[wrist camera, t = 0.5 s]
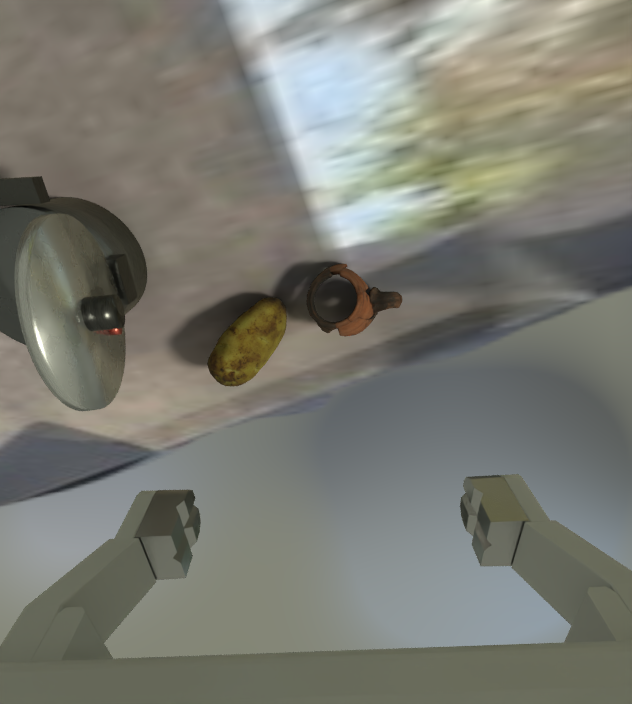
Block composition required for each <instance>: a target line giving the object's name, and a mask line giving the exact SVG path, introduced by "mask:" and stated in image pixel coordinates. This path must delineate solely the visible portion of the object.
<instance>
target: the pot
mask: <svg viewBox="0 0 632 704" xmlns="http://www.w3.org/2000/svg"><path fill="white" fill-rule="evenodd" d="M6 205H18V206H13V207H8V208H3V209H0V331H1V332H3V333H4V334H6V335H7V336H9V337H10V338H12V339H14V340H16V341H18V342H20V343H23V344H25V345H26V343H25V339H24V336H23V333H22V330H21V325H20V321H19V317H18V311H17V304H16V297H15V283H14V281H15V261H16V253H17V249H18V245H19V241H20V239H21V236H22V234H23V232H24V230H25V229H26V227H27V226H28V224H29V223H30V222H31V221H32V220H33V219H34V218H36V217H38V216H40V215H46V214H59V213H61V214H67V215H69V216H72V217H74V218H75V219H77V220H78V221H79V222H81V223H82V224H83V225H84V226H85V227H86V228H87V230H88V231H89V232H90V233H91V234H92V236H93V237H94V239H95V240H96V242H97V243H98V245H99V247H100V248H101V250H102V252H103V254H104V256H105V258H106V260H107V263H108V265H109V266H111V270H112V273H113V276H114V280H115V283H116V286H117V289H118V293H119V296H120V299H121V301H122V304H123V307H124V313H125V314H126V313H128V312H129V311H130V310H131V309H132V308H133V307H134V306H135V305H136V304H137V303H138V302H139V300H140V299H141V297H142V295H143V293H144V290H145V287H146V283H147V267H146V262H145V258H144V255H143V252H142V249H141V247H140V245H139V243H138V241H137V240H136V238H135V237H134V235H133V234H132V232H131V231H130V230H129V229H128V227H127V226H126V225H125V224H124V223H123V222H122V221H121V220H120V219H118V218H117V217H116V216H115V215H114V214H112V213H111V212H109V211H108V210H106V209H105V208H103V207H101V206H99V205H97V204H95V203H92V202H90V201H86V200H83V199H79V198H72V197H60V198H53V199H49V196H48V193H47V190H46V188H45V185H44V182H43V179H42V176H41V177H21V178H2V179H0V206H6Z"/></svg>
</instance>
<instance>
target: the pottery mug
mask: <svg viewBox="0 0 632 704" xmlns="http://www.w3.org/2000/svg"><path fill="white" fill-rule="evenodd" d="M346 267H347V264H338V265H334V266H331V267H328V268H326V269H325V270H324V271H323V272H321V273H320V274H319V275H318V276H317V277H316V279H315V280H314V281H313V282H312V284H311V286H310V289H309V291H308V294H307V307H308V310H309V314H310V316H312V318H313V319H314V320H315V321H316V322H317V324H318V326H319V327H320V328H321V329H322V331H324V332H326V333H330V331H332V330H334V329H336V328H338V331H339V334H340V336H352V335H356V334H358V333H360V332H362V331H363V330H364V329H365V328H366V327H367V326H368V325H369V324H370V323H371V322H372V321H373V319H374V318H375V316H376V315H377V313H378V312H379V311H382V310H386V309H389V308H399V306H400V305H401V303H402V296H401V295H400V294H399V293H398V292H381V291H380V290H378V288H376V287H373V288H372V289H371V290H370V292H369V296H368V295H367V293H366V292H365V291H366V290H367V289H368V286H367V285H366V283H365V282H364V281H363V280H362V279H361V277H359V276H358V275H357V274H356V273H354V272H353V271H351V270H349V269H347V268H346ZM337 274H339V275H340V276H341V277H343V278H345V279H347V280H349V281H350V282H351V283H352V285H353V286H354V288H355V290H356V294H357V302H356V306H355V308H354V311H353V312H352V314H351V315H350V316H349V317H348V318H346V319H344V320H342V321H339V322H328V321H326V320H324V319H323V318H321V317H320V316H319V315H318V313H317V311H316V309H315V305H314V296H315V293H316V290H317V289H318V287H319V285H320V284H321V283H322V282H323V281H325V280H326V279H328V278H330V277H332V275H337Z"/></svg>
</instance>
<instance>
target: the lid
mask: <svg viewBox="0 0 632 704" xmlns="http://www.w3.org/2000/svg"><path fill="white" fill-rule="evenodd" d="M14 283H15V297H16V304H17V311H18V317H19V321H20V325H21V330H22V333H23V336H24V339H25V343H26V346H27V349H28V351H29V353H30V356H31V358H32V361H33V363H34V365H35V367H36V369H37V371H38V373H39V375H40V376H41V378H42V379H43V381H44V383H45V384H46V386H47V387H48V388H49V389H50V391H51V392H52V393H53V394H54V395H55V396H56V397H57V398H58V399H59V400H60V401H61V402H62V403H63V404H65V405H66V406H68V407H70V408H72V409H74V410H78V411H90V410H97V409H102V408H104V407H106V406H107V405H109V404H110V403H111V402H112V401H113V399H114V398H115V396H116V394H117V393H118V390H119V388H120V385H121V382H122V378H123V373H124V366H125V354H126V343H125V328H124V324H125V313H124V307H123V304H122V301H121V299H120V296H119V293H118V289H117V286H116V283H115V280H114V276H113V273H112V270H111V266H109V265H108V263H107V260H106V258H105V256H104V254H103V252H102V250H101V248H100V247H99V245H98V243H97V242H96V240H95V239H94V237H93V236H92V234H91V233H90V232H89V231H88V230H87V228H86V227H85V226H84V225H83V224H82V223H81V222H79V221H78V220H77V219H75V218H74V217H72V216H69V215H67V214H61V213H59V214H46V215H40V216H38V217H36V218H34V219H33V220H32V221H31V222H30V223H29V224H28V226H27V227H26V229H25V230H24V232H23V234H22V236H21V239H20V241H19V245H18V249H17V253H16V261H15V281H14Z"/></svg>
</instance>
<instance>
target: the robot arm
mask: <svg viewBox="0 0 632 704" xmlns="http://www.w3.org/2000/svg"><path fill="white" fill-rule="evenodd" d="M463 487H464V490H465V492H466V493H465V494H464V495H463V496H462V497H461V503H460V508H461V517H462V520H463V523H464V526H465V529H466V531H467V532H469V533H470V534H471V535H472V536H473V540H472V546H473V549H474V551H475V554H476V556H477V558H478V561H479V563H480V566H512V569H514V570H515V571H516V572H517V573H518V574H519V575H520V576H521V577H522V578H523V579H524V580H525V581H526V582H527V583H528V584H529V585H530V586H531V587H532V588H533V589H534V590H535V591H536V592H537V593H538V594H539V595H540V596H541V597H543V598H544V600H546V601H547V602H548V603H549V604H550V605H551V606H552V607H553V608H554V609H555V610H556V611H557V612H558V613H559V614H560V615H561V616H562V617H563V618H564V619H565V620H566V621H567V622H568V623H569V624H571V628H570V630H569V633H568V635H567V637H566V640H565V642H564V643H544V644H543V643H542V644H516V645H515V644H514V645H513V644H512V645H484V646H457V647H428V648H399V649H373V650H371V649H370V650H342V651H315V652H288V653H263V654H262V653H260V654H232V655H203V656H175V657H149V658H148V657H147V658H118V659H113V657H112V656H111V654H110V652H109V651H108V649H107V647H106V646H105V644H104V642H105V641H106V640H107V639H108V638H109V636H110V635H111V634H112V633H113V632H114V631H115V629H116V628H117V627H118V626H119V625H120V624H121V622H122V621H123V620H124V619H125V618H126V617H127V615H128V614H129V613H130V612H131V611H132V610H133V608H134V607H135V606H136V605H137V604H138V603H139V602H140V600H141V599H142V598H143V597H144V596H145V595H146V593H147V592H148V591H149V590H150V589H151V588H152V586H153V585H154V584H155V583H156V580H164V579H178V578H186V576H187V573H188V569H189V566H190V563H191V560H192V556H193V555H192V552H191V549H190V548H191V547H192V546H193V545H194V544H195V543H196V542H197V539H198V535H199V532H200V523H201V522H200V513H199V509H198V508H197V507H195V506H194V505H193V504H194V501H195V496H194V493H193V490H158V491H141V492H140V493H139V494H138V495H137V496H136V498H135V500H134V502H133V504H132V506H131V508H130V510H129V511H128V514H127V515H126V518H125V519H124V521H123V523H122V525H121V527H120V529H119V531H118V533H117V535H116V537H115V538H114V539H109V540H108V541H107V542H105V543H104V544H103V545H102V546H100V547H99V548H98V549H96V550H95V551H94V552H93V553H92V554H90V555H89V556H88V557H87V558H85V559H84V560H83V561H82V562H80V563H79V564H78V565H77V566H75V567H74V568H73V569H72V570H71V571H69V572H68V573H67V574H66V575H64V576H63V577H62V578H60V579H59V580H58V581H57V582H56V583H54V584H53V585H52V586H51V587H49V588H48V589H47V590H46V591H44V592H43V593H42V594H41V595H39V596H38V597H37V598H36V599H34V600H33V601H32V602H31V603H29V604H28V605H27V606H26V607H25V608H24V610H23V611H22V613H21V615H20V616H19V617H18V619H17V621H16V622H15V624H14V625H13V627H12V628H11V630H10V631H9V633H8V635H7V636H6V638H5V640H4V641H3V643H2V644H1V646H0V704H632V571H631V570H629V569H628V568H626V567H625V566H623V565H622V564H620V563H619V562H617V561H616V560H614V559H613V558H611V557H610V556H608V555H607V554H605V553H604V552H602V551H601V550H599V549H598V548H596V547H595V546H593V545H592V544H590V543H589V542H587V541H586V540H584V539H583V538H581V537H580V536H578V535H577V534H575V533H573V532H572V531H570V530H569V529H567V528H566V527H565V526H563V525H562V524H560V523H559V522H557V521H550V520H549V518H548V517H547V515H546V513H545V512H544V510H543V509H542V507H541V506H540V504H539V503H538V501H537V500H536V498H535V497H534V495H533V494H532V492H531V490H530V489H529V488H528V486H527V484H526V483H525V481H524V480H523V478H522V477H521V476H520V475H518V474H516V475H515V474H514V475H492V476H475V477H466V478H465V480H464V484H463Z"/></svg>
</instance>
